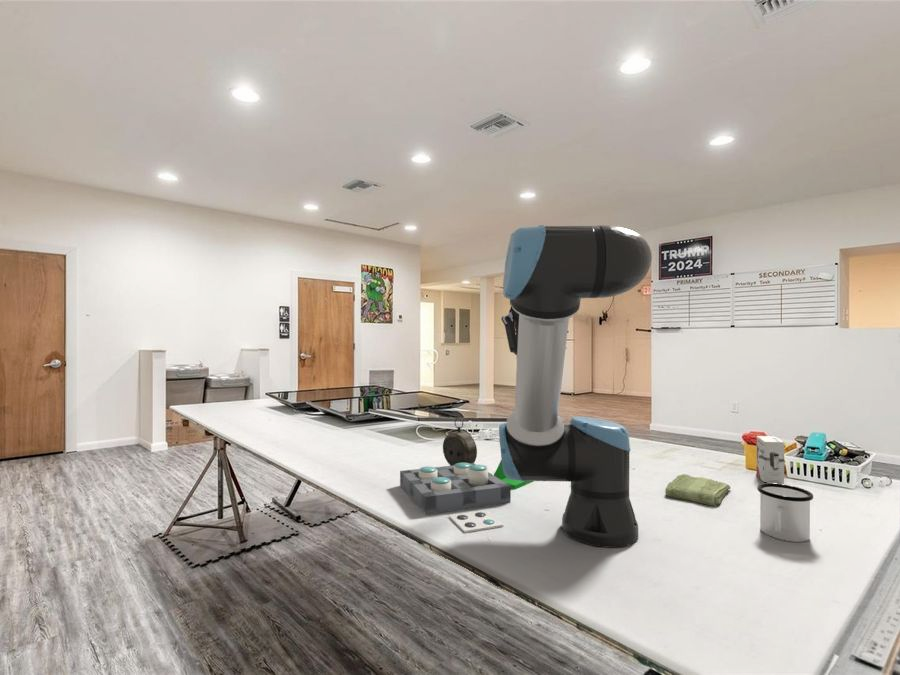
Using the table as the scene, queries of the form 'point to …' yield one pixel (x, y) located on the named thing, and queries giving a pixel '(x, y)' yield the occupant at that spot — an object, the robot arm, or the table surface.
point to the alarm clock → (459, 447)
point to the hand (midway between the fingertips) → (524, 379)
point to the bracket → (512, 483)
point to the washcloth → (697, 489)
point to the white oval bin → (785, 512)
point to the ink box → (770, 459)
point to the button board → (453, 491)
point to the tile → (475, 521)
